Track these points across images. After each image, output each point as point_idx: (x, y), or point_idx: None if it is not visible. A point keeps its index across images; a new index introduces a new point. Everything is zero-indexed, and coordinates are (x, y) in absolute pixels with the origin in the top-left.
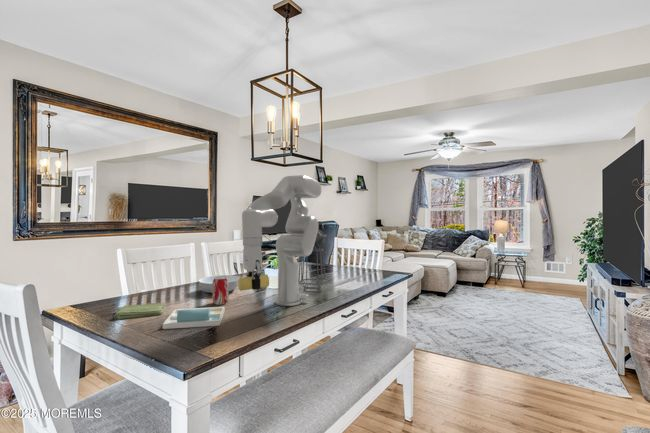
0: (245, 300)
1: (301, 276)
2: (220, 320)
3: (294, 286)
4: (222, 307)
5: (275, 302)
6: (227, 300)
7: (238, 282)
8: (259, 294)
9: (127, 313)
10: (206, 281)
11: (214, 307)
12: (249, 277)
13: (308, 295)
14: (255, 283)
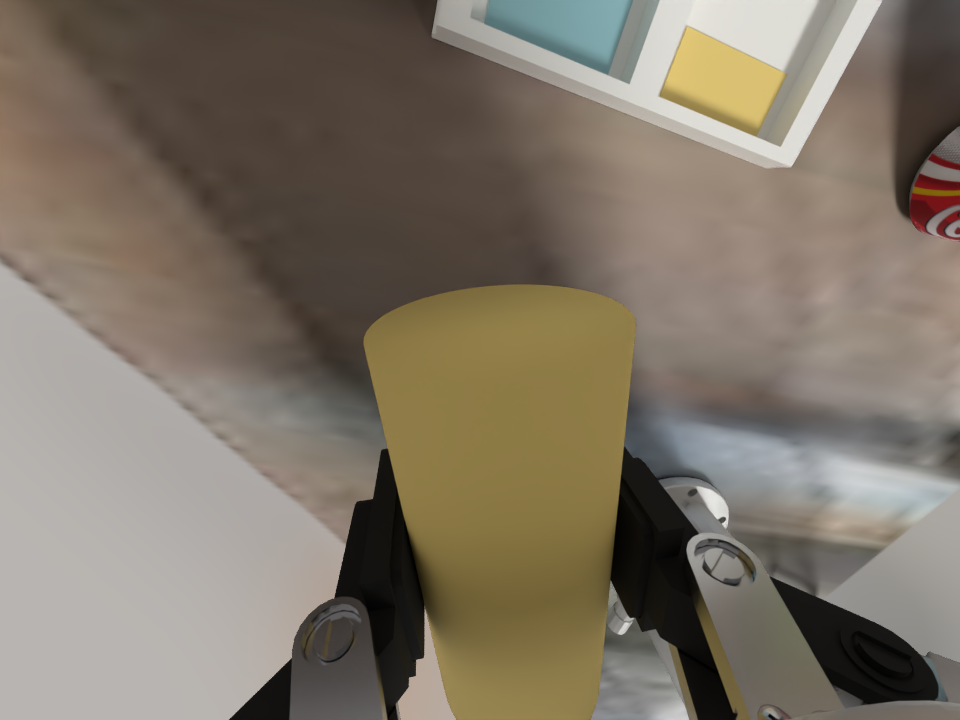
0: (862, 347)
1: None
2: (486, 50)
3: (656, 647)
4: (784, 143)
5: (677, 482)
6: (926, 227)
7: (600, 313)
8: (895, 435)
9: None
10: None
11: (836, 69)
12: (498, 570)
13: (611, 629)
14: (349, 553)
